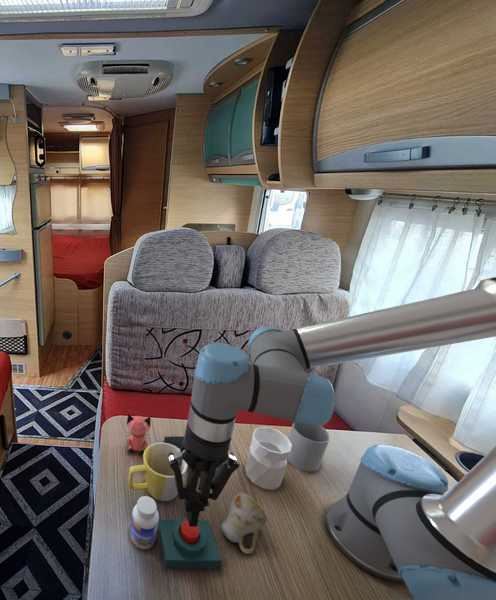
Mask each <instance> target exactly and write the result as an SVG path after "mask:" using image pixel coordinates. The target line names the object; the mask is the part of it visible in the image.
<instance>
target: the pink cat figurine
mask: <svg viewBox="0 0 496 600" xmlns="http://www.w3.org/2000/svg"><path fill="white" fill-rule="evenodd" d="M126 426H127V428H128V430H129V432H128V431H126V433H127V434H126V436H127V437H129V438H127V439H126V445H128V448H127V449H126V450H127V453H128V454H134V453H135V451H137V452H138V454H139V455H141V456H143V455H144V451H145V448H147V447H148V441H147V440H146V437H147V436H149V434H147V433H148V432H149V430H150V429H151V416H148V417H144V416H141V415H133V416H132V415H131V414H130V413H128V414H127V420H126ZM128 434H129V435H128Z"/></svg>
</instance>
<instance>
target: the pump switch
mask: <svg viewBox="0 0 496 600" xmlns="http://www.w3.org/2000/svg"><path fill="white" fill-rule="evenodd" d="M186 520H188V519H187V517H180V518H179V519H158V527H157V532H158V537H159V542H160V548H161V552H162V557H163V558H162V559H163V564H164V567H165V568H221V564H222V557H221V555H220V552H219V549H218V546H217V542H216V540H215V537H214V534H213V531H212V528H211V524H210V521H209V520H207V519H198V524H197V526H198V528H199V537H198V540H197V542H196V543H194V544H190V543H187V542H185V541H184V540H183V539H182V537H181V534H180V530H181V525H182V523H183V522H184V521H186Z"/></svg>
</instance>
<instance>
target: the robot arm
mask: <svg viewBox="0 0 496 600" xmlns="http://www.w3.org/2000/svg"><path fill="white" fill-rule="evenodd" d="M495 337H496V276H494V277H489V278H485V279H481V280H478V281H477V282H476V283H475V284H474V285H473V287H472V288H471V289H467V290H463V291H462V290H461V291H457V292H454V293H449V294H443V295H440V296H436V297H431V298H427V299H423V300H418V301H414V302H409V303H404V304H400V305H396V306H390V307H387V308H381V309H377V310H373V311H368V312H366V313H365V312H364V313H360V314H356V315H351V316H347V317H342V318H337V319H332V320H328V321H325V322H320V323H319V322H318V323H315V324H311V325H306V326H301V327H298V328H293V329H288V330H287V329H286V330H282V329H281V328H278V327H276V326H270V325H269V326H268V325H266V326H261V327H259V328H257V329H255V330H254V331H253V332H252V333H251V334H250V335H249V338H248V341H247V343H248V344H247V345H248V354H247V353H246V352H245V351H244V350H242V349H241V348H240V347H238V346H231V344H228V343H223V342H213V343H209V344H207V345H205V346H203V347H202V348H201V349H200V350H199V352H198V353H199V354H198V356H197V361H196V366H195V368H194V376H193V384H192V391H191V397H190V403H189V410H188V415H187V423H186V426H185V427H186V428H185V430H186V433H185V432H184V433H185V439H184V445H183V446H182V447H181V449H180V452H179V453H176V454H173V453H172V452H169V453H168V454H167V456H168V460H169V464H170V467H171V468H172V470H173V472H174V477H175V483H176V488H177V492H178V493H177V495H178V499H179V500H180V501H183V506H184V507H183V508H184V510H185V515H186V518H187V519H188V523H189V527H197V524H198V520H200V519H199V518H200V515H201V514H200V513H203V512H204V511H205V509H206V507H208V506H209V505H210V502H209V500H212V501H216V500H218V499H219V497H220V495H221V494H222V492H223V490H224V489H225V486H226V485H227V483H228V481H229V480H230V478H231V476H232V475H233V473H234V472H236V471H237V470H238V469H239V468H240V466H241V465H240V463H239V461H238V458H237V457H236V455H235V453H234V452H229V450H230V446H231V442H232V437H233V435H234V430H235V424H236V419H237V415H238V411H243V412H246V413H247V412H248V413H251V414H252V413H253V414H258V415H263V416H267V417H271V418H274V419H275V418H276V419H279V420H283V421H288V422H293V423H305V424H312V425H318V426H324V425H326V424H327V423H328V422H329V421H330V420H331V418H332V416H333V414H334V410H335V401H336V398H335V396H336V395H335V390H334V387H333V384H332V383H331V381H330V380H329V379H328V378H326V377H324V376H321V375H317V374H314V373H313V372H310V373H308V372H307V373H306V372H305V370H309V369H310V370H311V369H315V368H321V367H328V366H332V365H339V364H345V363H350V362H356V361H362V360H368V359H375V358H380V357H385V356H393V355H397V354H403V353H408V352H415V351H420V350H426V349H432V348H437V347H443V346H449V345H454V344H460V343H465V342H466V343H467V342H472V341H478V340H484V339H490V338H495ZM250 361H251V363H250ZM183 459H184V461H185V462H186V463H187V465H188V467H187V473H186V480H185V484H184V481H183V480H184V478H183V479H182V473H181V469H180V468H181V465H182V460H183ZM444 494H445V495H444ZM325 526H326V530H327V532H328V535H329V536H330V538H331V539H332V541H333V543H334V544H335V546H336V547H337V548H338V549H339V550H340V552H342V553H343V555H345V556H346V557H347V558H348V559H349V560H350V561H351V562H352V563H354V564H355V565H357V566H358V567H360V568H361V569H362V570H364V571H366V572H368V573H369V574H371V575H373V576H375V577H378V578H380V579H383V580H387V581H391V582H404V584H405V585H406V587H407V589H408V590H409V592H410V595H411V596H412V597H413V598H414V600H496V445H494V447H493V448H492V449H490V451H488V452H487V453H486V454H485V455H484V456H483V457H482V458H481V459H480V460H479V461H478V462H477V463H476V464H475V465H474V466H473V467H472V468H471V469H470V470H469V471H468V472H467V473H466V474H465V475H464V476H463V477H462V478H461V479H460V480H459V481H457V483H455V485H454V486H452V488H451V489H449V481H448V477H447V476H446V474H445V473H444V472H443V471H442V470H441V469H440V468H438V466H436V465H435V464H433V463H432V462H430V461H429V460H428V459H426V458H424V457H423V456H420V455H418V454H416V453H414V452H412V451H409V450H406V449H405V448H401V447H397V446H392V445H388V444H373V445H371V446H370V447H368V448H367V449H366V450H365V452H364V454H363V455H362V456H361V457H360V462H359V465H358V467H357V469H356V471H355V473H354V476H353V478H352V481H351V484H350V486H349V488H348V491H347V494H345V495H344V496H343V497H341V498H340V499H338V500H337V501H335V502H334V503H333V504H332V505H330V507H329V508H328V510H327V512H326V515H325Z"/></svg>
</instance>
